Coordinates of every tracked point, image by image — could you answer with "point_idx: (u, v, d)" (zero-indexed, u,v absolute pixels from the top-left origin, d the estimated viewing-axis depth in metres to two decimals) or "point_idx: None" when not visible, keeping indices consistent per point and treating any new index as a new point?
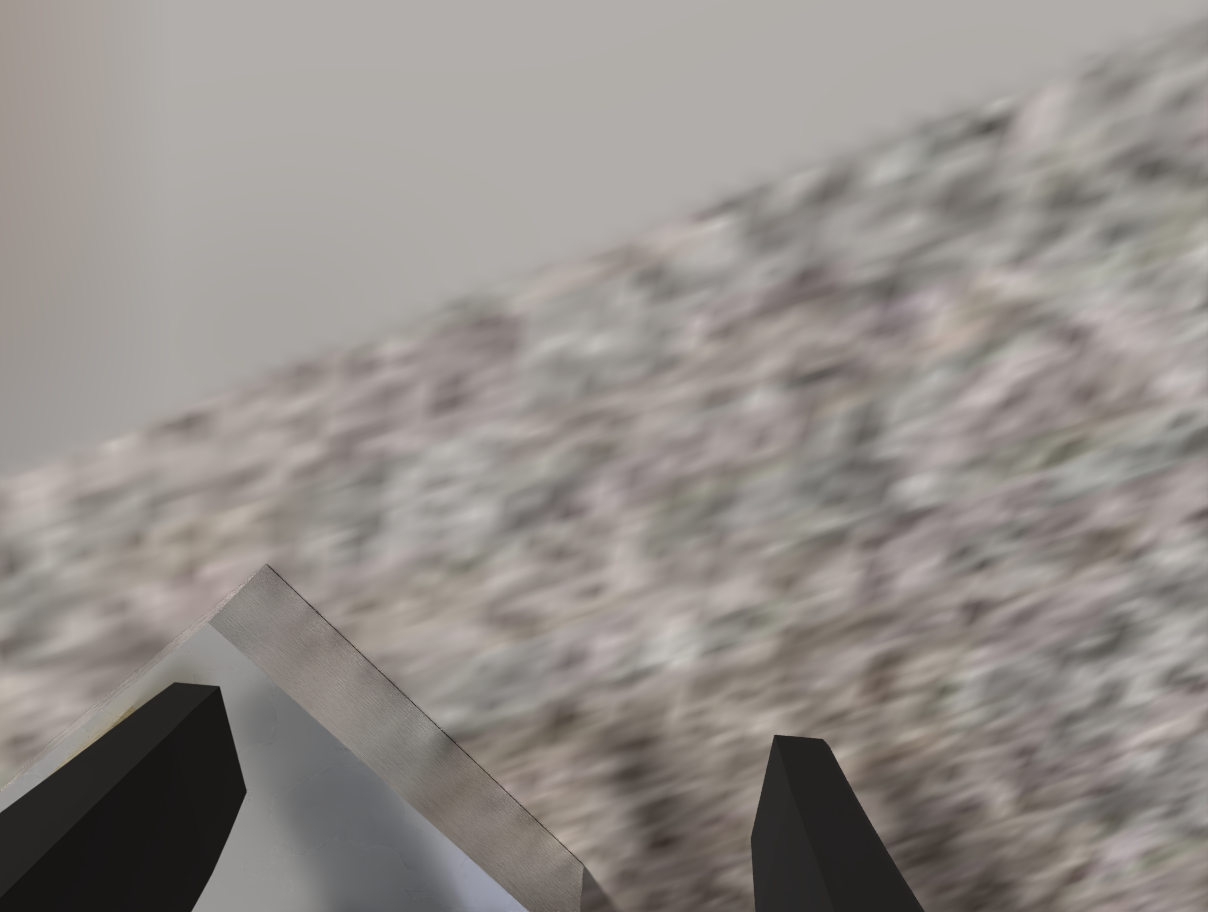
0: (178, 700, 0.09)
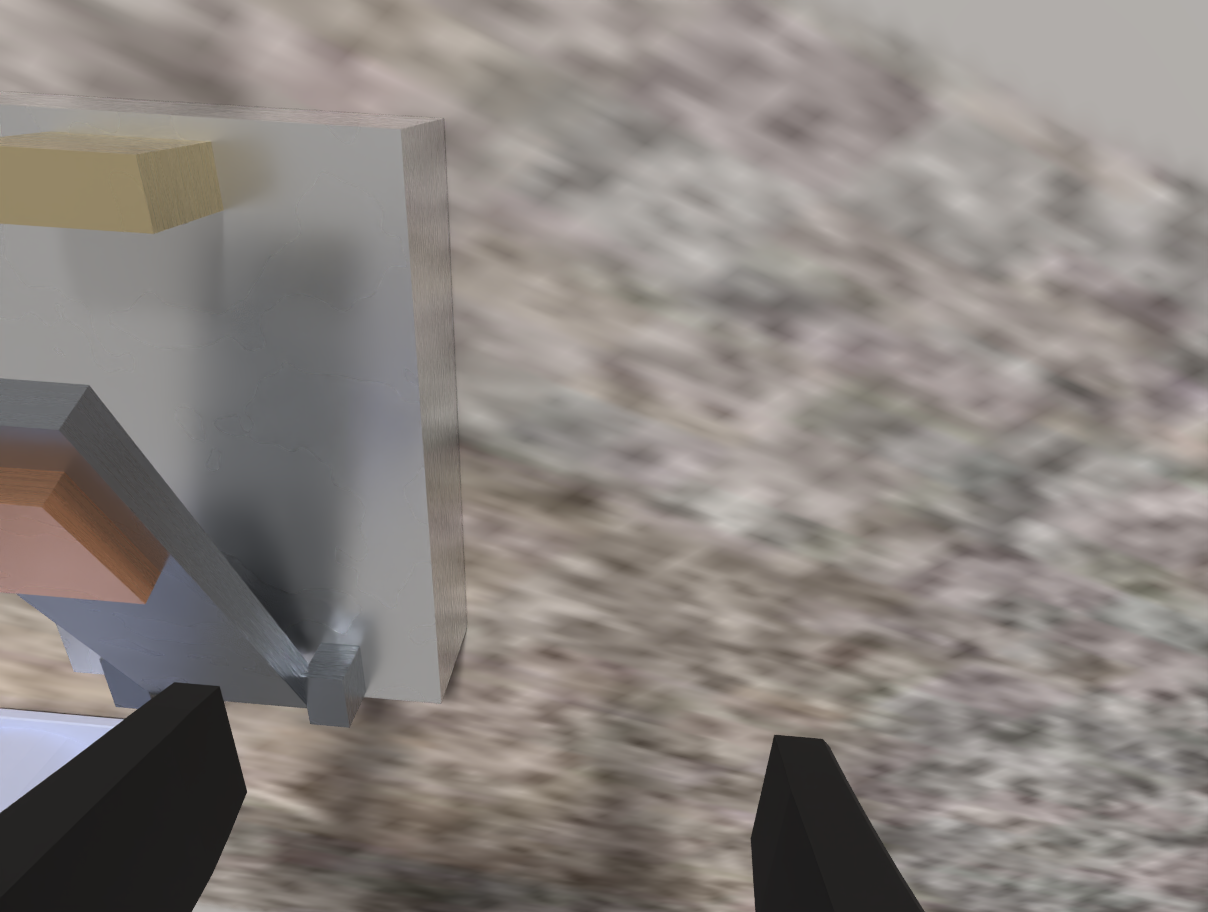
0: (178, 700, 0.09)
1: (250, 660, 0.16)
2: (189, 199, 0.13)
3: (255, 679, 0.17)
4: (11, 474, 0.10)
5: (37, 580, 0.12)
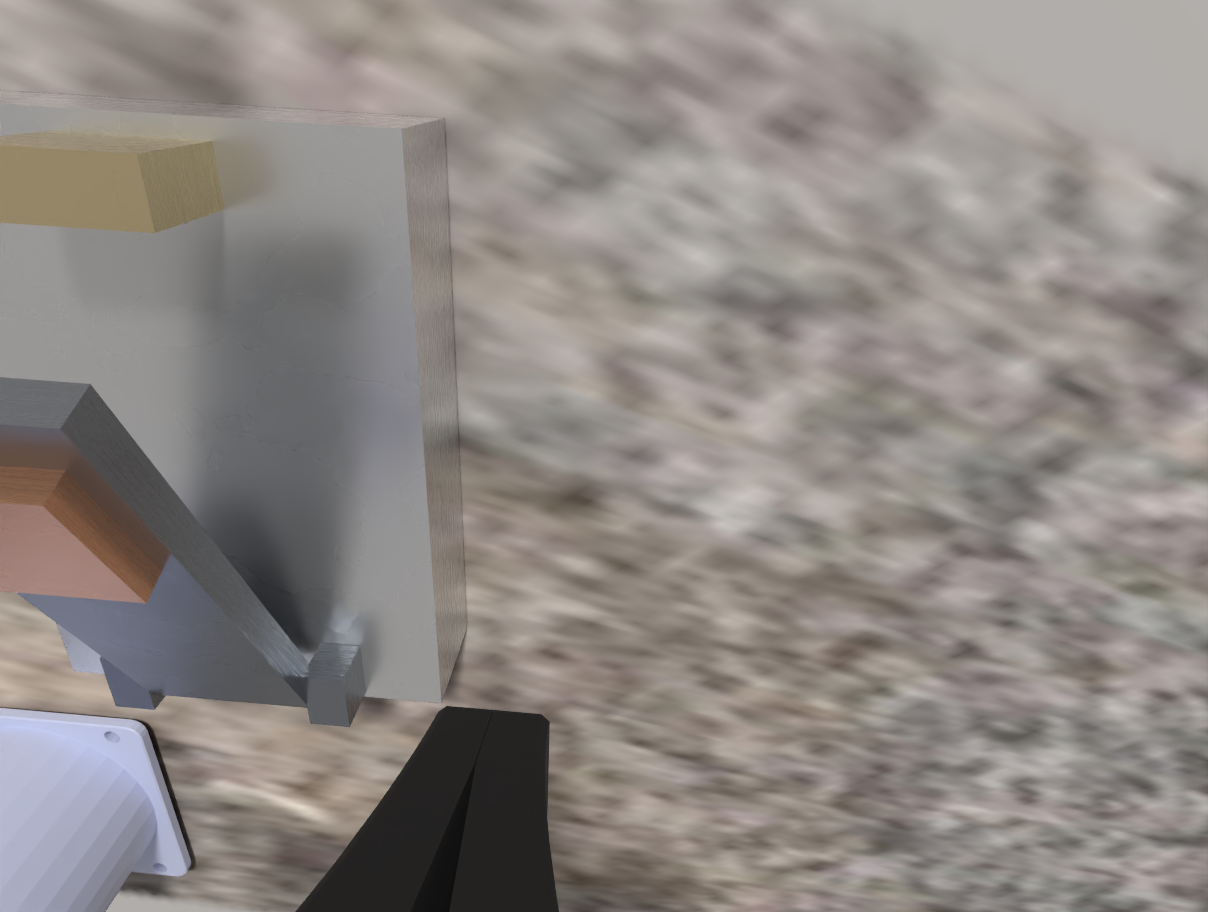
0: (463, 726, 0.09)
1: (250, 659, 0.16)
2: (190, 198, 0.13)
3: (255, 678, 0.17)
4: (12, 473, 0.10)
5: (37, 578, 0.12)
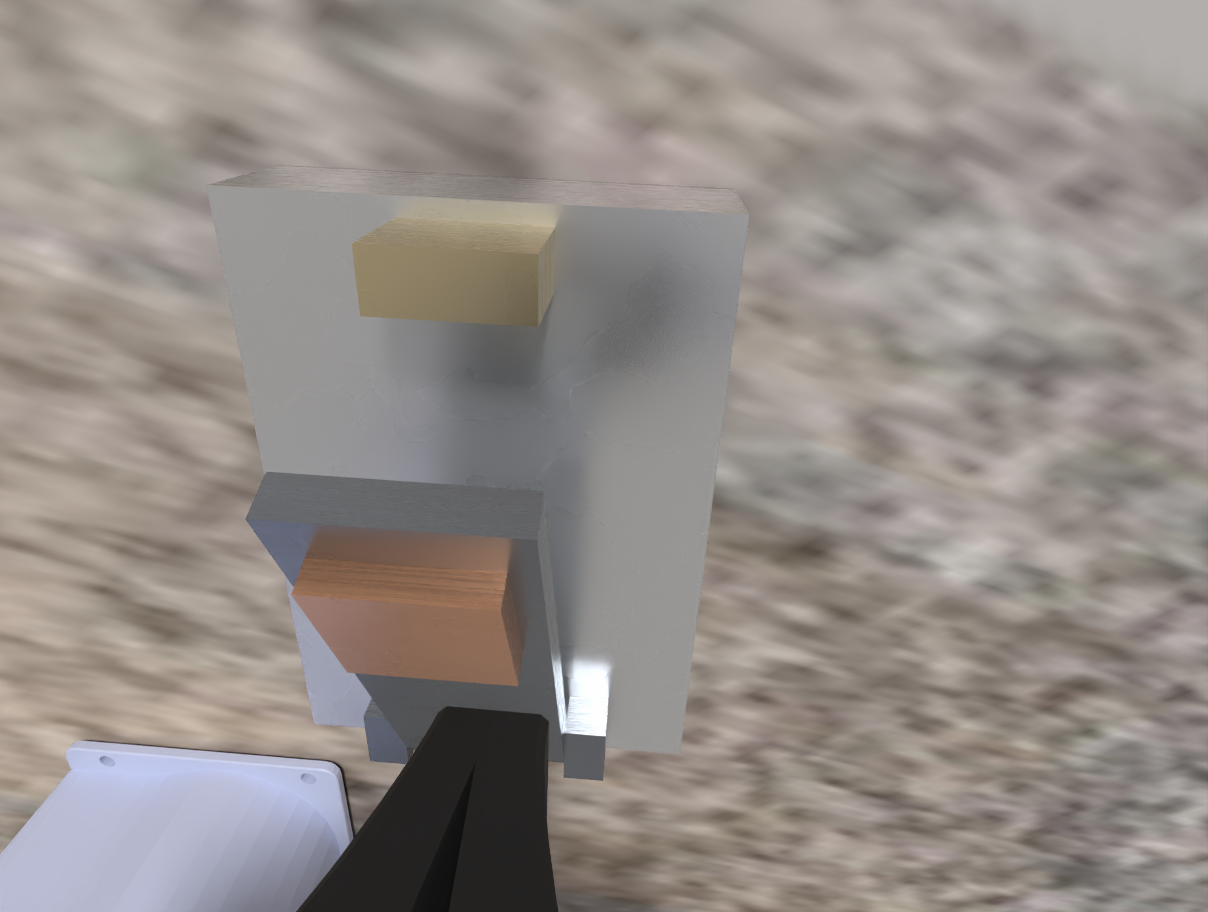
0: (463, 725, 0.09)
1: None
2: (547, 287, 0.13)
3: None
4: (458, 576, 0.11)
5: (425, 666, 0.12)
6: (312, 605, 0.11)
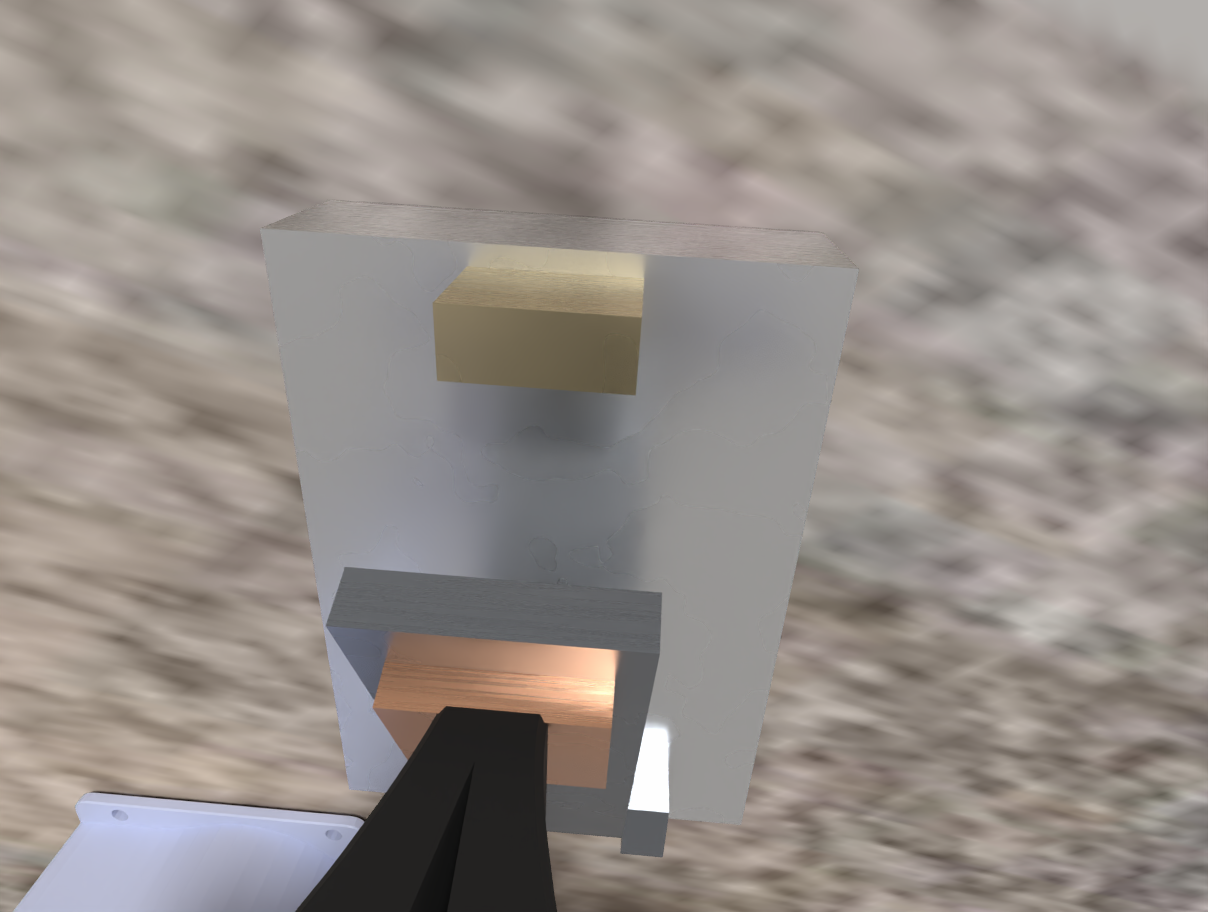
0: (462, 725, 0.09)
1: (610, 806, 0.15)
2: None
3: (592, 818, 0.16)
4: (560, 685, 0.10)
5: None
6: (394, 716, 0.10)
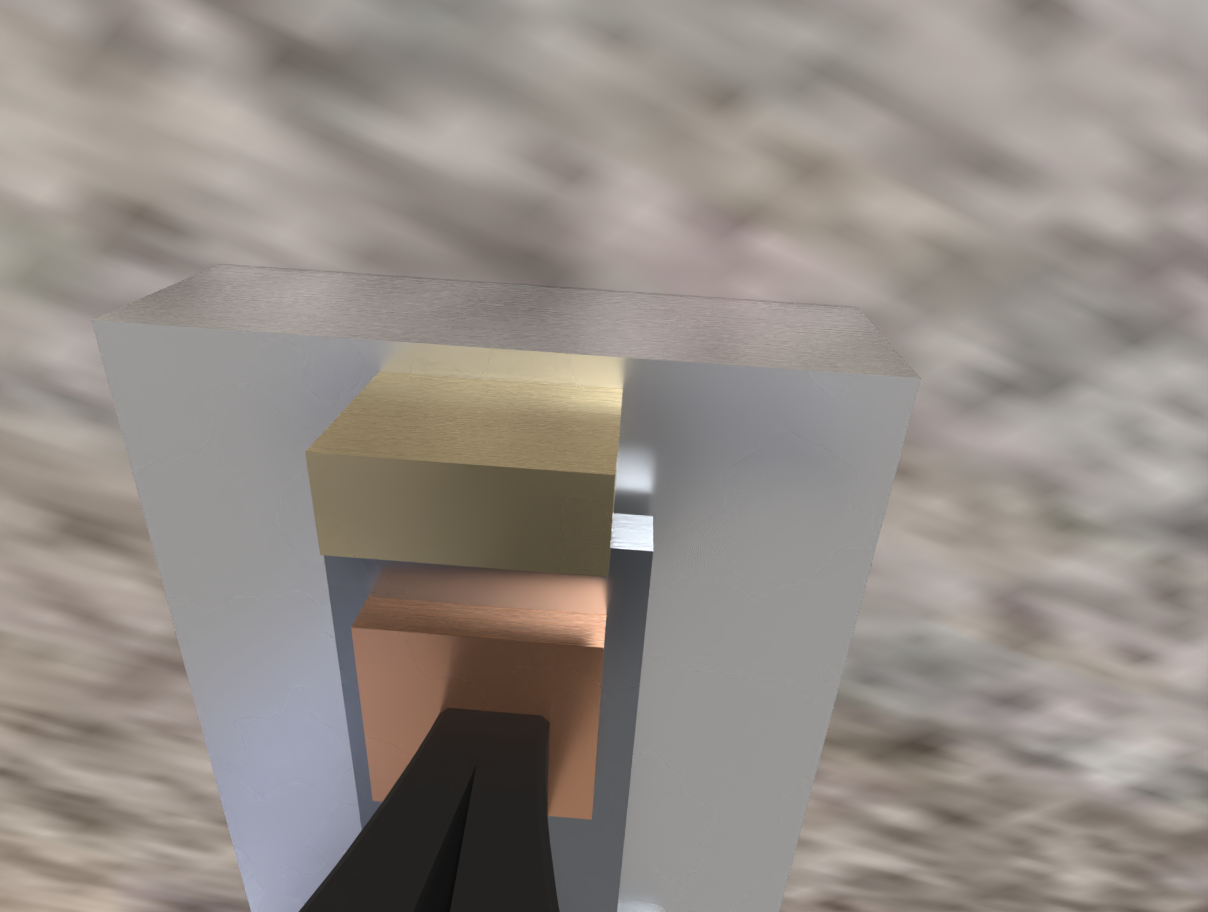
0: (465, 726, 0.09)
1: None
2: None
3: None
4: (549, 616, 0.09)
5: None
6: (371, 649, 0.09)
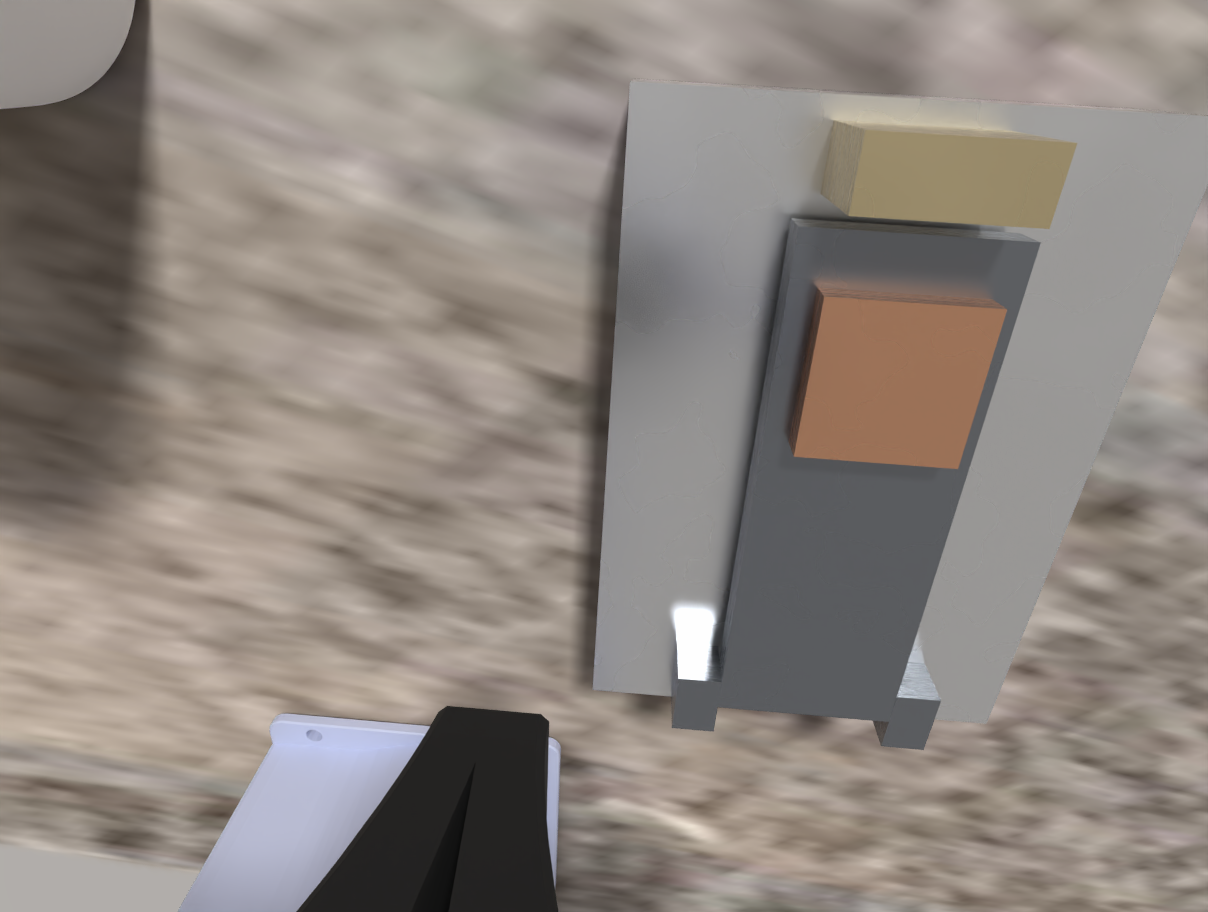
0: (463, 726, 0.09)
1: (904, 617, 0.16)
2: None
3: (875, 659, 0.17)
4: (954, 298, 0.13)
5: (883, 432, 0.13)
6: (833, 315, 0.12)
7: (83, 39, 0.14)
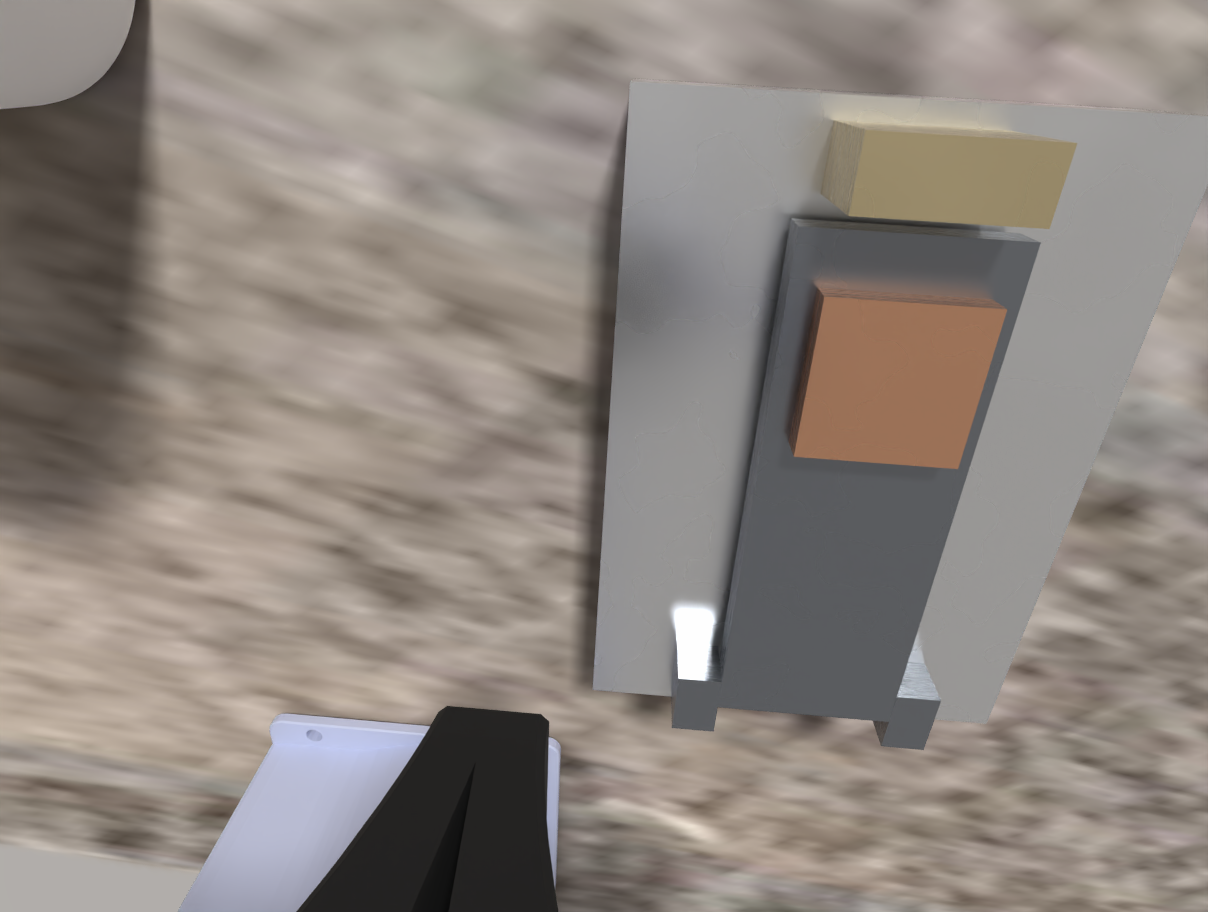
0: (463, 726, 0.09)
1: (904, 617, 0.16)
2: None
3: (875, 659, 0.17)
4: (954, 298, 0.13)
5: (883, 432, 0.13)
6: (833, 315, 0.12)
7: (84, 39, 0.14)
